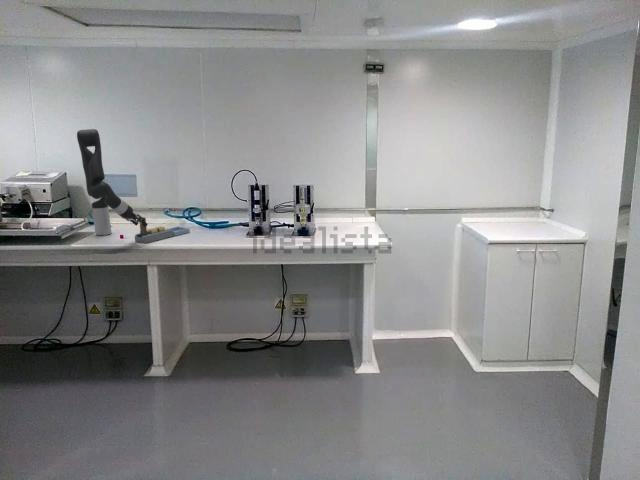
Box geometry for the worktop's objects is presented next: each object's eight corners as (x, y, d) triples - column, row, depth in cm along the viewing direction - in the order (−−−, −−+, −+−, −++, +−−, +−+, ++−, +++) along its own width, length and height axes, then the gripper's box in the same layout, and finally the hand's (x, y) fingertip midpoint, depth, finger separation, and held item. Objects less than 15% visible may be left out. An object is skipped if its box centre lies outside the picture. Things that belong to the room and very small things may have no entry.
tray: (174, 236, 300) (174, 232, 300) (162, 234, 306) (162, 230, 306) (189, 232, 310) (189, 228, 309) (178, 230, 316) (177, 226, 315)
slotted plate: (145, 243, 284) (145, 236, 283) (135, 241, 290) (134, 234, 289) (173, 236, 300) (172, 229, 299) (162, 234, 306) (162, 227, 305)
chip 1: (152, 235, 291) (151, 230, 290) (147, 234, 293) (147, 229, 292) (157, 233, 294) (157, 228, 293) (153, 233, 296) (152, 228, 296)
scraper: (144, 237, 287) (142, 218, 284) (140, 236, 289) (138, 217, 286) (148, 236, 289) (146, 217, 286) (143, 235, 291) (141, 217, 288)
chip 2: (159, 233, 295) (159, 228, 295) (155, 232, 297) (154, 227, 297) (165, 231, 298) (164, 227, 298) (160, 231, 301) (160, 226, 300)
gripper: (133, 204, 272) (153, 220, 284) (118, 202, 280) (137, 218, 292) (126, 215, 269) (146, 231, 281) (110, 212, 277) (130, 228, 289)
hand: (141, 224), depth 286 cm, fingers open, 8 cm apart
